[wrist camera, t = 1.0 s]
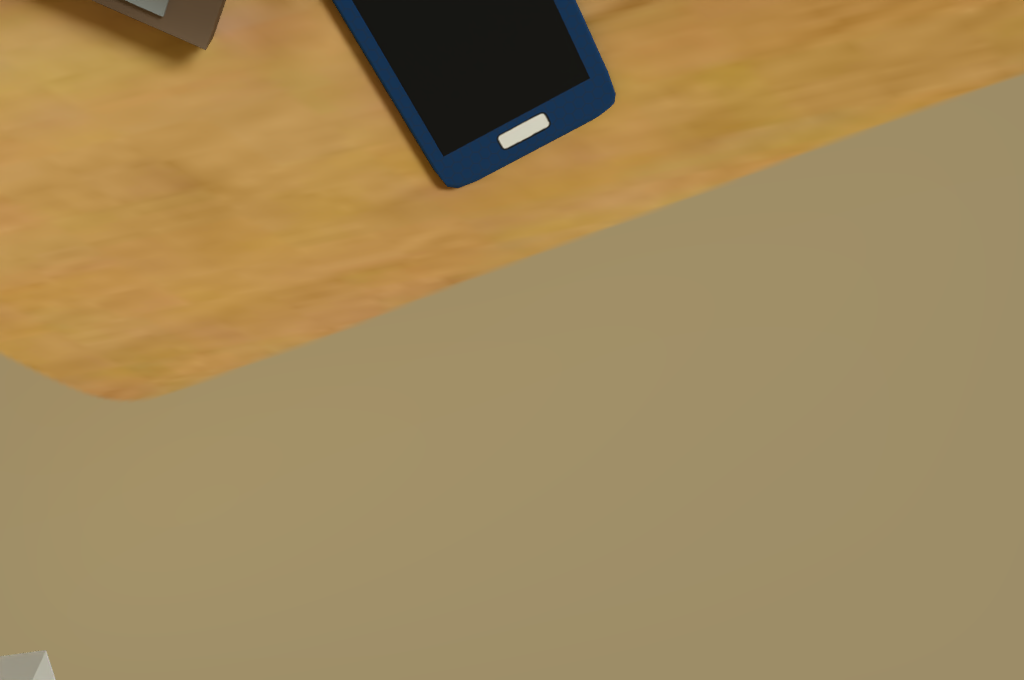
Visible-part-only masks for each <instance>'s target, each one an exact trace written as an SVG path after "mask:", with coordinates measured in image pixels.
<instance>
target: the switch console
mask: <svg viewBox="0 0 1024 680" xmlns="http://www.w3.org/2000/svg"><path fill="white" fill-rule="evenodd" d="M92 1H95V2H97V3H99V4H102V5H104V6H106V7H108V8H111V9H113V10H115V11H118V12H120V13H122V14H124V15H127V16H129V17H131V18H134V19H136V20H138V21H141V22H143V23H145V24H147V25H150V26H152V27H154V28H157V29H159V30H161V31H163V32H166V33H168V34H170V35H173V36H175V37H177V38H180V39H182V40H184V41H186V42H189V43H191V44H193V45H196V46H198V47H200V48H202V49H205V50H206V49H207V47H208V45H209V44H210V42H211V40H212V39H213V36H214V33H215V30H216V27H217V24H218V22H219V19H220V16H221V13H222V10H223V7H224V4H225V1H226V0H92Z"/></svg>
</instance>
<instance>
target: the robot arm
mask: <svg viewBox="0 0 1024 680" xmlns="http://www.w3.org/2000/svg"><path fill="white" fill-rule="evenodd" d="M0 680H55V676H54V673H53V670H52V667H51V664H50V661H49V658H48V655H47V652H46V650H44V651H37V652H29V653H22V654H14V655H8V656H0Z"/></svg>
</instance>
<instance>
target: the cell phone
mask: <svg viewBox="0 0 1024 680" xmlns="http://www.w3.org/2000/svg"><path fill="white" fill-rule="evenodd" d="M332 1H333V3H334V4H335V6H336V8H337V9H338V11H339V13H340V14H341V16H342V18H343V19H344V21H345V23H346V24H347V26H348V28H349V29H350V31H351V33H352V34H353V36H354V38H355V39H356V41H357V43H358V44H359V46H360V48H361V49H362V51H363V53H364V54H365V56H366V58H367V59H368V61H369V63H370V64H371V66H372V68H373V69H374V71H375V73H376V74H377V76H378V78H379V79H380V81H381V83H382V84H383V86H384V88H385V89H386V91H387V93H388V94H389V96H390V98H391V99H392V101H393V103H394V104H395V106H396V108H397V109H398V111H399V113H400V114H401V116H402V118H403V119H404V121H405V123H406V124H407V126H408V128H409V129H410V131H411V133H412V134H413V136H414V138H415V139H416V141H417V143H418V144H419V146H420V148H421V149H422V151H423V153H424V154H425V156H426V158H427V159H428V161H429V163H430V164H431V166H432V168H433V169H434V170H435V172H436V173H437V174H438V175H439V177H440V178H441V179H442V180H443V182H444V183H445V184H446V185H447V187H453V188H459V187H462V186H465V185H467V184H470V183H473V182H475V181H477V180H479V179H481V178H483V177H485V176H487V175H489V174H491V173H493V172H495V171H496V170H498V169H500V168H502V167H504V166H506V165H508V164H510V163H512V162H514V161H515V160H517V159H519V158H521V157H523V156H525V155H527V154H529V153H531V152H532V151H534V150H536V149H538V148H540V147H542V146H544V145H546V144H548V143H550V142H551V141H553V140H555V139H557V138H559V137H561V136H563V135H565V134H567V133H569V132H570V131H572V130H574V129H576V128H578V127H580V126H582V125H584V124H586V123H587V122H589V121H591V120H593V119H595V118H596V117H598V116H599V115H601V114H602V113H603V112H605V111H606V110H607V109H608V108H610V107H611V106H612V105H613V104H614V102H615V91H614V88H613V85H612V82H611V79H610V76H609V74H608V71H607V69H606V67H605V64H604V62H603V60H602V58H601V56H600V53H599V51H598V49H597V47H596V44H595V42H594V40H593V38H592V36H591V33H590V31H589V29H588V27H587V25H586V22H585V20H584V18H583V16H582V14H581V11H580V9H579V7H578V5H577V3H576V0H332Z"/></svg>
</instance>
